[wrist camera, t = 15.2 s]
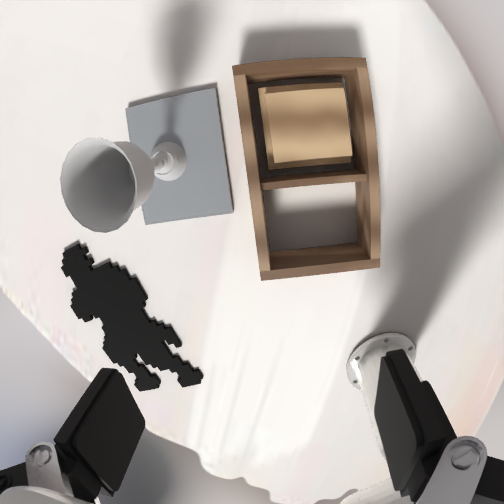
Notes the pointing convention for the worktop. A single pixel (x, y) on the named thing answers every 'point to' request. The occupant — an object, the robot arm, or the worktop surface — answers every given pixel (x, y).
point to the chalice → (114, 179)
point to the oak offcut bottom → (267, 132)
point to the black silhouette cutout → (124, 320)
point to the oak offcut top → (308, 124)
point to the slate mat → (197, 153)
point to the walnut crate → (362, 174)
